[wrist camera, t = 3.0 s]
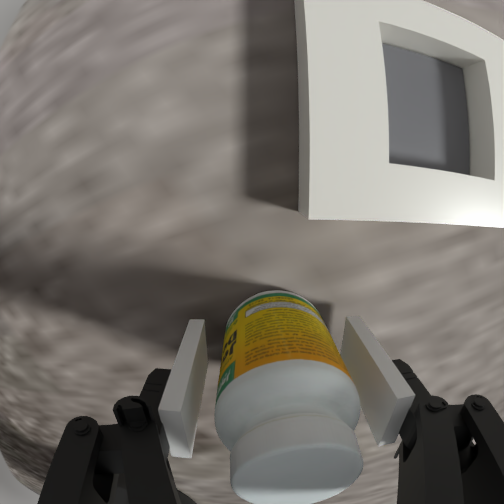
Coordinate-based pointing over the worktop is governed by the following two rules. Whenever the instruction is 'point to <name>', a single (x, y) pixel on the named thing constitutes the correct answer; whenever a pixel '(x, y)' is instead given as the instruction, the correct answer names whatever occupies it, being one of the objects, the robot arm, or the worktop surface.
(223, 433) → the supplement bottle
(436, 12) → the socket block
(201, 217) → the worktop surface
